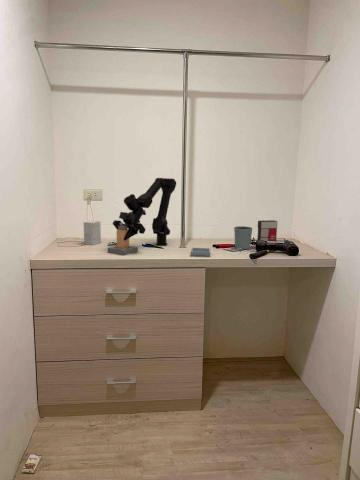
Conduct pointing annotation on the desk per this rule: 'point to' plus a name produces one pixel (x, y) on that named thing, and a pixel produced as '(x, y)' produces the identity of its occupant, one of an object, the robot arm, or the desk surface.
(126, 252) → the socket block
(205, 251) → the tray
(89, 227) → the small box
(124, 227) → the plug
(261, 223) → the grey upright box
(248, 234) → the blue-grey cup
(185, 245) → the desk surface
